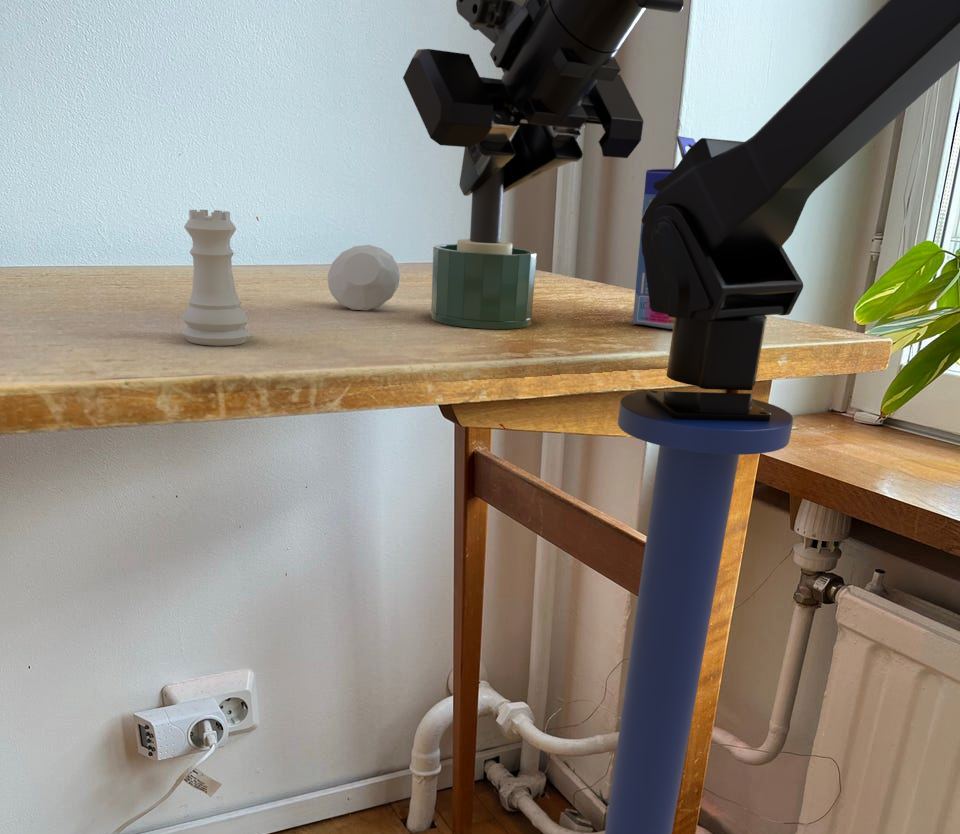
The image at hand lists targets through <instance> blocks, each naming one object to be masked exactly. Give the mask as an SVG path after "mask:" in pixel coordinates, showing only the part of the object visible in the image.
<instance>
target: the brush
mask: <svg viewBox="0 0 960 834" xmlns="http://www.w3.org/2000/svg"><path fill="white" fill-rule="evenodd" d="M504 169H505V165H504V166H503V167H502V168H501V169H499V170H498V171H497V172H496V173H495V174H494V175H493V176H492V177H491V178H489V179H488V180H487V181H486V182H485V183H484V184H483V185H482V186H481V187H479V188H478V189H477V190H475V191H474V192H473V193H471V207H470V208H471V209H470V230H469V231H470V232H469V238H461V239H460V238H459V239H457V241H456V244H457V251H463V252H474V253H488V254H512V247H513V243H512V242H510V241H504V240H501V234H502V233H501V232H502V231H501V230H502V217H503V201H504V200H503V199H504V193H503V185H504Z"/></svg>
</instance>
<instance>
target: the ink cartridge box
mask: <svg viewBox="0 0 960 834" xmlns="http://www.w3.org/2000/svg"><path fill="white" fill-rule="evenodd" d="M676 142H677V145H678V149H679V152H680V156H681V160H682V159H683V157H684V156H685V154H686V153H687V150H686V147H688V148H689V149H690V148H691V147H692V146H693V145H694V144H695V143H696V142H697V141H696V140H695V138H692V137H686V136H680V135H676ZM674 169H675V168H652V169H646V170H645V180H644V181H645V182H644V191H643V201H642V202H643V203H642V213H641V217H642V216H643V214H644V212H645V209H646V208H647V206H648V205H649V203H650V202H651V200H652V199H653V198H654V197H655V196H656V195H657V194H658V193H659V192H660V191H658V190H656V189H654V187H653V185H654V183H655V182H656V181H659V180H661V179H663V178H665V177H666V176H668V175H669V174H670V173H671V172H672V171H674ZM640 225H641V226H640V233H639V234H640V236H639V245H638V256H637V257H638V259H637V269H636V277H635V293H634V303H633V315H632V325H641V326H648V327H653V328H660V329H665V330H673V325H674V317H669V316H667V315H666V314H664V313H658V312H653V311H652V310H651V308H650V301H649V293H648V286H647V278H646V271H645V263H644V257H643V254H642V242H641V236H642V229H643V225H642V222H641V224H640Z"/></svg>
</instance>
